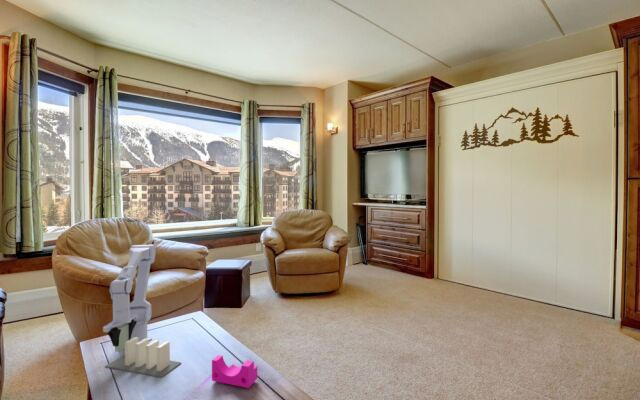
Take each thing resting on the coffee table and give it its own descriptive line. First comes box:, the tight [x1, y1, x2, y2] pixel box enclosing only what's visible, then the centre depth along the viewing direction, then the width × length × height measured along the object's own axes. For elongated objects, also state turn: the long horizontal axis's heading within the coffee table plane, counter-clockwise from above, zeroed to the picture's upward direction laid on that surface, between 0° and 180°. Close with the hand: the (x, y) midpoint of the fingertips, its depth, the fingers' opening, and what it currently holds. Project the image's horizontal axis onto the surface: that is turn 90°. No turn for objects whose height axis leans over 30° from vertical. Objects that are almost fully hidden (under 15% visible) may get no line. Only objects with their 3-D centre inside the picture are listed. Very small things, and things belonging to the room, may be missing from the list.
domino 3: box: [146, 339, 160, 369], centre depth 124 cm, size 2×5×9 cm, turn 164°
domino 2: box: [135, 338, 150, 368], centre depth 125 cm, size 2×5×9 cm, turn 164°
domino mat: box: [104, 354, 182, 378], centre depth 125 cm, size 27×10×1 cm, turn 75°
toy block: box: [211, 354, 258, 389], centre depth 116 cm, size 15×6×8 cm, turn 72°
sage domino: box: [114, 324, 129, 353], centre depth 128 cm, size 2×5×9 cm, turn 164°
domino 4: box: [156, 341, 171, 371], centre depth 123 cm, size 2×5×9 cm, turn 164°
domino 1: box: [124, 337, 139, 366], centre depth 127 cm, size 2×5×9 cm, turn 165°
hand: (121, 342), depth 128 cm, fingers closed on sage domino, 5 cm apart
